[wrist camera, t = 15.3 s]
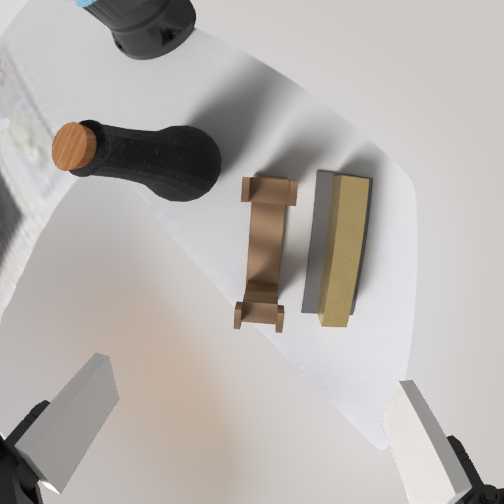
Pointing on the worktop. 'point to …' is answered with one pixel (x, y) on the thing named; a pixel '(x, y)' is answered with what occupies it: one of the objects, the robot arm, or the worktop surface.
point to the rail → (342, 249)
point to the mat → (320, 239)
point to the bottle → (141, 157)
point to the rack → (264, 248)
